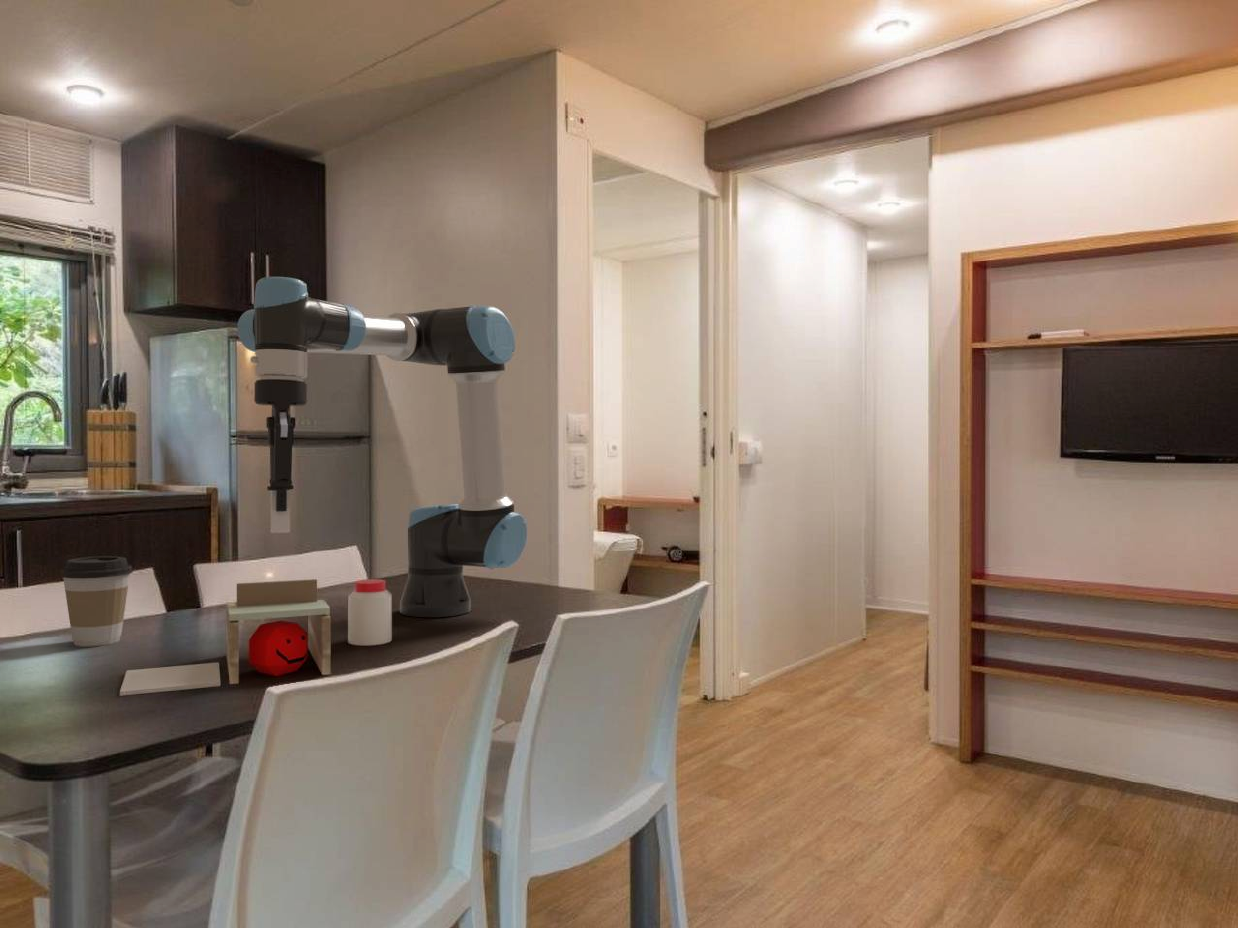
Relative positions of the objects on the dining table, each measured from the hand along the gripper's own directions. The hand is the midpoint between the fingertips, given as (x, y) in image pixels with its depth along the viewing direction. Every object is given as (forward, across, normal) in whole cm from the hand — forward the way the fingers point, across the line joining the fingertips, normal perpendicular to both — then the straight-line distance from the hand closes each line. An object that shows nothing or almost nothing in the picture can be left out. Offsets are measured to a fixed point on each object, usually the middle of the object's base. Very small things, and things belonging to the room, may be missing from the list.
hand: (280, 532), depth 136 cm
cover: (+13, -3, 0) cm, 13 cm away
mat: (+22, -4, -15) cm, 27 cm away
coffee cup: (+23, -38, -28) cm, 52 cm away
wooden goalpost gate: (+22, -8, 0) cm, 24 cm away
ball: (+23, -3, 0) cm, 23 cm away
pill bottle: (+23, -20, +17) cm, 35 cm away
